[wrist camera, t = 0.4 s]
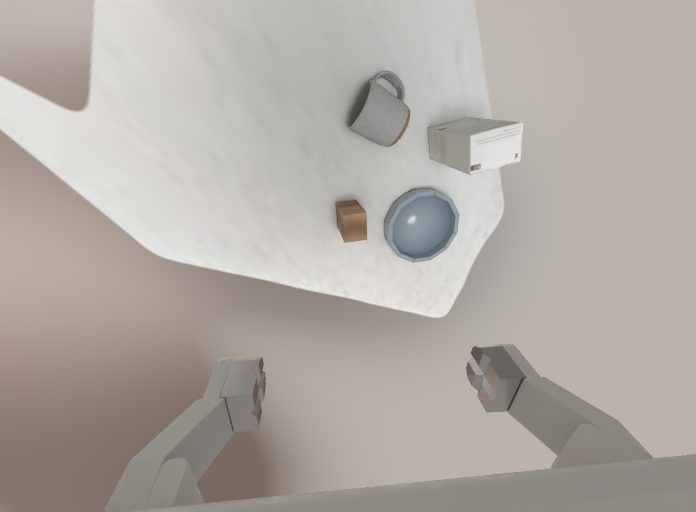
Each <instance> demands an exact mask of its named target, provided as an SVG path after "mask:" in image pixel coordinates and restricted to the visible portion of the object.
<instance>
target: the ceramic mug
mask: <svg viewBox="0 0 696 512" xmlns="http://www.w3.org/2000/svg"><path fill="white" fill-rule="evenodd" d="M380 77H383V78H386V79H387V80H389V81H390V82H391V83H392V84H393V85H394V86H395V87H396V88H397V90H398V98H397V97H395V96H394V95H392V94H391V93H389V92H388V91H387V90H385V89H384V88H383V87H381V86H380V85H379V84H377V83H376V80H377V79H378V78H380ZM403 100H404V86H403V84H402V82H401V80H400V79H399V78H398V77H397V76H396V75H395V74H394V73H392V72H390V71H384V72H381V73H379V74H378V75H377V76H376V77H375V78H374V79H373V80H369V81H367V82H366V83H365V84H364V86H363V87H362V88H361V90H360V92H359V93H358V95H357V97H356V99H355V101H354V103H353V105H352V108H351V110H350V113H349V116H348V120H347V127H348V128H349V129H350V130H352V131H354V132H356V133H358V134H360V135H362V136H364V137H366V138H368V139H370V140H372V141H374V142H376V143H378V144H379V145H383V146H386V147H389V146H392V145H394V144H395V143H396V142H397V141H398V140H399V139H400V138H401V136H402V135H403V133H404V132H405V130H406V128H407V125H408V122H409V119H410V110H409V108H408V107H407V106H406V104H405V103H404V102H403Z"/></svg>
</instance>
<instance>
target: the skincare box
mask: <svg viewBox="0 0 696 512" xmlns="http://www.w3.org/2000/svg"><path fill="white" fill-rule="evenodd" d="M522 132H523V122H510V121H500V120H490V119H478V118H464V119H462V120H459V121H455V122H452V123H448V124H443V125H439V126H434V127H429V128H428V136H429V151H430V159H432V160H435V161H437V162H440V163H442V164H445V165H447V166H449V167H452V168H454V169H457V170H459V171H462V172H464V173H467V174H469V175H472V174H475V173H479V172H482V171H486V170H489V169H492V170H493V169H497V168H499V167H501V166H504V165H508V164H512V163H518V162H520V161H521V143H522Z"/></svg>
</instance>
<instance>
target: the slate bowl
mask: <svg viewBox="0 0 696 512" xmlns="http://www.w3.org/2000/svg"><path fill="white" fill-rule="evenodd" d="M458 222H459V213H458V211H457V209H456V207H455V205H454V202H453V200H452V199H451V198H449V197H447V196H445V195H443V194H441V193H439V192H437V191H435V190H433V189H427V188H419V189H414V190H411V191H409V192H407V193H405V194H403V195H402V196H401V197H399V198H398V199H397V200H396V201H395V202H394V203H393V205H392V206H391V207H390V209H389V211H388V213H387V215H386V218H385V223H384V233H385V237H386V240H387V242H388V244H389V245H390V246H391V248H392V249H393V251H394V252H395V253H396V255H397V256H398V257H400V258H403V259H406V260H408V261H411V262H413V263H414V262H420V261H427V260H431V259H433V258H434V257H436V256H437V255H439V254H440V253H442V252H443V251H445V250H446V249H447V248H448V247H449V245H450V243H451V242H452V240H453V239H454V237H455V236H456V234H457V230H458Z"/></svg>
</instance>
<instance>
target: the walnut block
mask: <svg viewBox="0 0 696 512" xmlns="http://www.w3.org/2000/svg"><path fill="white" fill-rule="evenodd" d="M336 214H337V226H338V229H339V231H340V233H341V235H342V238H343V240H344V242H345V243H346V242H353V241H361V240H367V221H366V212H365V210H364V209H363V208H362V207H361V206H360V204H359V203H358V202H357V201H356V200H352V201H344V202H336Z"/></svg>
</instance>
